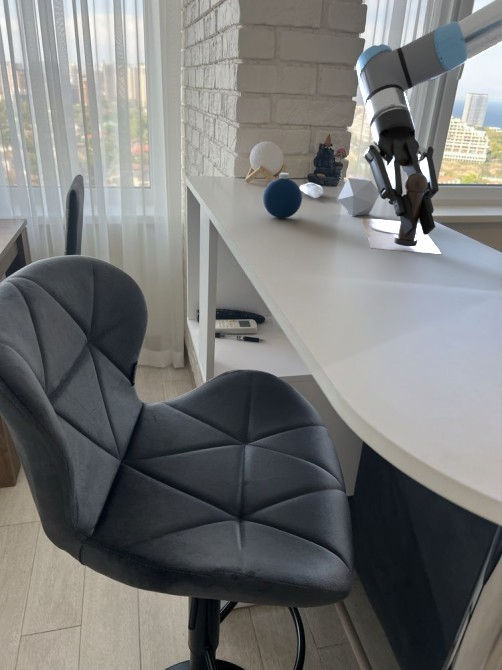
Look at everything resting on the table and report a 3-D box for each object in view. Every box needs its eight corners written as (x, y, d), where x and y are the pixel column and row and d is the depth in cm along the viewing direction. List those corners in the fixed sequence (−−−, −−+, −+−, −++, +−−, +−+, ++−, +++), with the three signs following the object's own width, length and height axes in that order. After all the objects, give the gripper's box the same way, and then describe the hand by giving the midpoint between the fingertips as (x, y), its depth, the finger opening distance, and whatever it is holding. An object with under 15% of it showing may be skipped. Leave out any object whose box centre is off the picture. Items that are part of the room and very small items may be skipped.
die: (379, 222, 114) (391, 182, 116) (352, 203, 110) (365, 162, 111) (352, 227, 122) (364, 189, 123) (326, 209, 117) (338, 171, 118)
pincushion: (327, 200, 130) (329, 178, 128) (303, 199, 130) (306, 177, 127) (317, 191, 141) (319, 170, 138) (295, 190, 140) (297, 169, 138)
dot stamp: (414, 241, 95) (427, 172, 89) (418, 247, 91) (432, 175, 86) (392, 239, 95) (404, 170, 89) (395, 245, 91) (408, 173, 86)
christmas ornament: (308, 219, 110) (312, 172, 106) (279, 224, 105) (283, 174, 101) (282, 211, 116) (285, 166, 112) (254, 215, 111) (256, 168, 107)
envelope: (418, 224, 112) (419, 221, 111) (441, 256, 90) (442, 253, 90) (361, 219, 113) (361, 217, 113) (370, 250, 91) (371, 247, 91)
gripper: (418, 136, 101) (448, 240, 94) (343, 133, 97) (368, 242, 90) (438, 108, 94) (472, 218, 87) (359, 104, 90) (388, 220, 83)
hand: (419, 230), depth 88 cm, fingers closed on dot stamp, 3 cm apart
